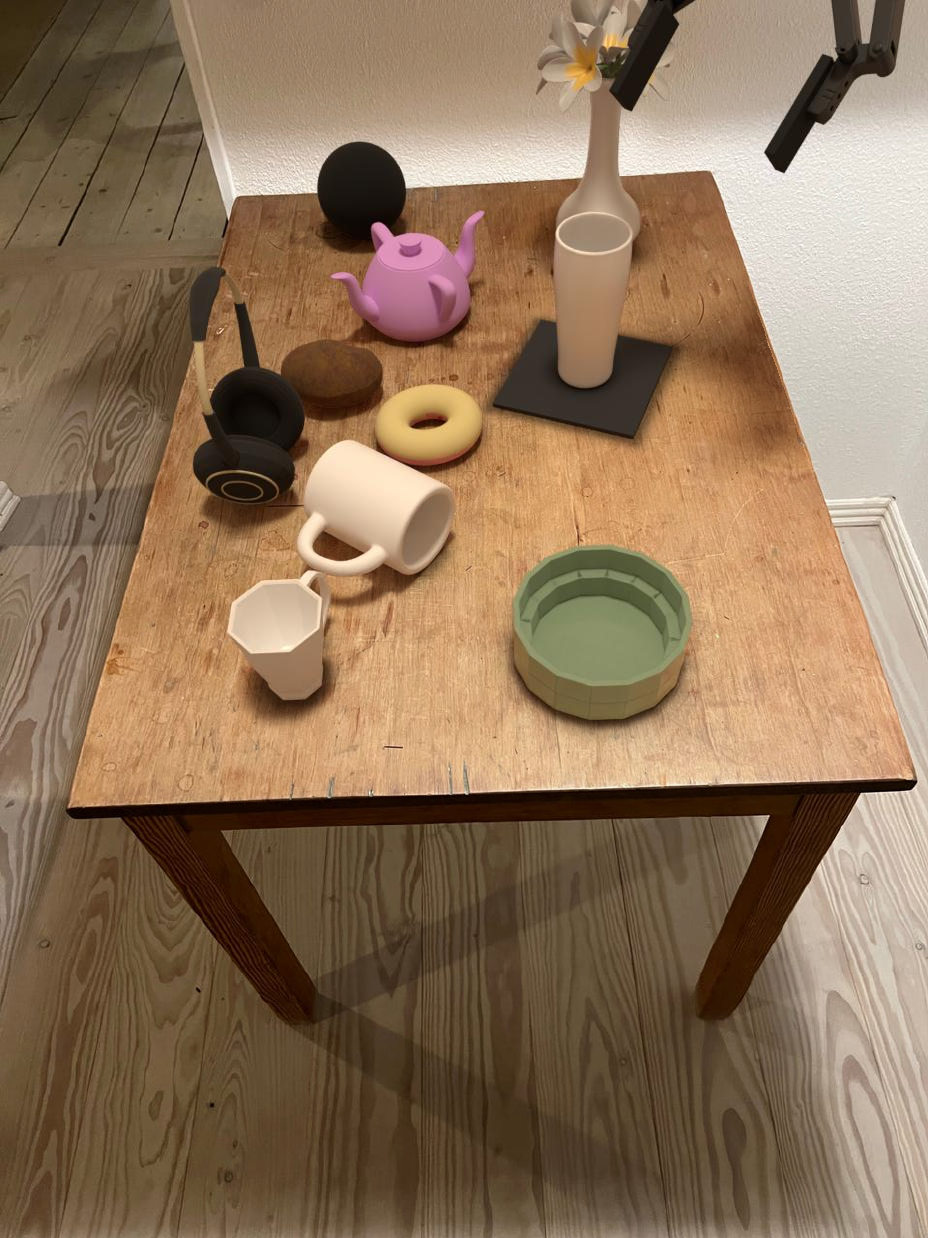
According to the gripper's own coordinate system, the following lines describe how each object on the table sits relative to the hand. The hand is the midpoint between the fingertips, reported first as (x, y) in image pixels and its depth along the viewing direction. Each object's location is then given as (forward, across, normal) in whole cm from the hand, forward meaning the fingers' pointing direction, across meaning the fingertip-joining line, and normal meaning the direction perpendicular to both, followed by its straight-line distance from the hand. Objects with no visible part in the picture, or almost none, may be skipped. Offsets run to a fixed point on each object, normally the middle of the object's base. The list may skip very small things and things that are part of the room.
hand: (693, 131), depth 66 cm
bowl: (+35, -13, -4) cm, 38 cm away
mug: (+40, +7, 0) cm, 40 cm away
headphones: (+40, +22, +1) cm, 46 cm away
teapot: (+22, +30, -17) cm, 40 cm away
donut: (+30, +14, -9) cm, 34 cm away
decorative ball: (+17, +46, -22) cm, 53 cm away
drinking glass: (+18, +10, -20) cm, 29 cm away
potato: (+32, +25, -7) cm, 41 cm away
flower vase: (+6, +24, -32) cm, 41 cm away
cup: (+47, +2, +8) cm, 48 cm away
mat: (+18, +10, -20) cm, 29 cm away
